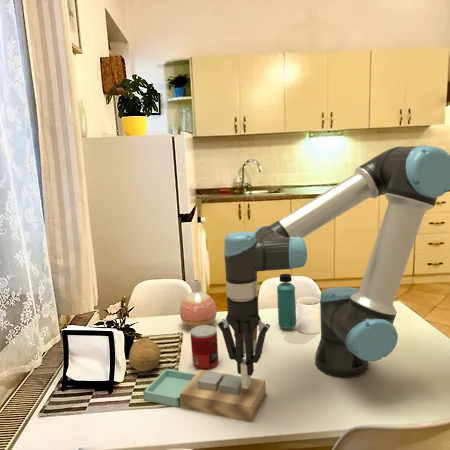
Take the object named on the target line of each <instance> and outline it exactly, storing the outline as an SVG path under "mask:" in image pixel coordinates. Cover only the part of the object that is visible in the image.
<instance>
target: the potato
mask: <svg viewBox="0 0 450 450" xmlns="http://www.w3.org/2000/svg"><path fill="white" fill-rule="evenodd" d="M161 355H162V352H161V349H160V346H159V345H158V344H157V342H154V341H153V340H152V339H150V338H147V337H144V338H138V339H136V340H135V341H134V342H133V343H132V345H131V347H130V350H129V355H128V361H129V365H130V366H131V367H132V368H133V369H135V370H137V371H138V372H143V373H144V372H145V373H146V372H150V371H152V370H154V369H155V368H156V367H157V366H158V365H159V363H160V361H161Z"/></svg>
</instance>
